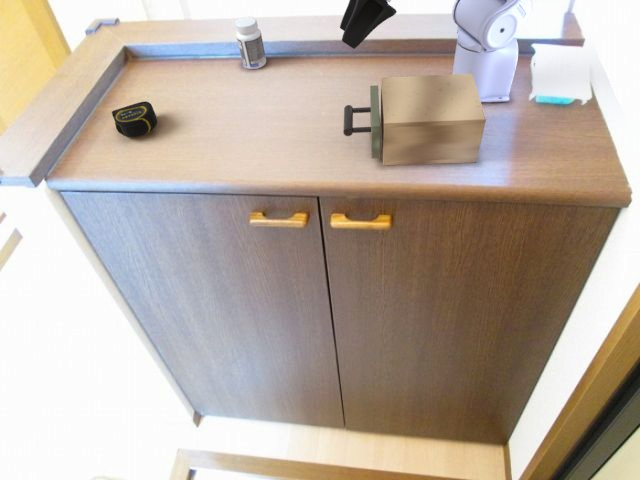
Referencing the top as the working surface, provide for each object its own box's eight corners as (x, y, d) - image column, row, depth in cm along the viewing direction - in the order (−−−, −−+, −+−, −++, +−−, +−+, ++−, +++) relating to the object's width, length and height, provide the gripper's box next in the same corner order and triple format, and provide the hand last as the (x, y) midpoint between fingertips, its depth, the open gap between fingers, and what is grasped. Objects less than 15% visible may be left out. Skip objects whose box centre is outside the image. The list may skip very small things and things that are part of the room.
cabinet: (383, 165, 69) (384, 123, 63) (380, 119, 76) (381, 77, 71) (476, 162, 68) (486, 119, 62) (464, 115, 75) (472, 73, 69)
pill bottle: (270, 58, 93) (262, 16, 86) (260, 71, 90) (252, 28, 83) (249, 56, 94) (240, 14, 87) (239, 68, 91) (229, 26, 85)
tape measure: (155, 114, 83) (148, 95, 80) (163, 134, 79) (155, 115, 76) (117, 125, 82) (108, 107, 79) (123, 147, 78) (113, 128, 75)
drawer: (344, 159, 69) (342, 127, 65) (345, 118, 76) (343, 86, 72) (457, 155, 68) (463, 122, 63) (448, 114, 74) (453, 81, 70)
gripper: (375, -81, 63) (322, 11, 70) (388, -77, 52) (323, 33, 58) (416, -49, 65) (360, 37, 72) (436, -38, 54) (368, 64, 61)
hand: (346, 37), depth 65 cm, fingers open, 7 cm apart
